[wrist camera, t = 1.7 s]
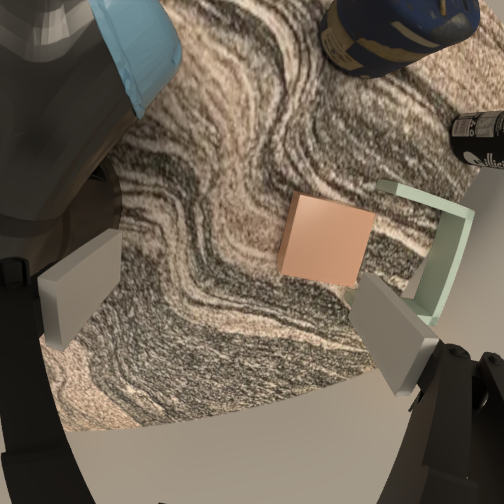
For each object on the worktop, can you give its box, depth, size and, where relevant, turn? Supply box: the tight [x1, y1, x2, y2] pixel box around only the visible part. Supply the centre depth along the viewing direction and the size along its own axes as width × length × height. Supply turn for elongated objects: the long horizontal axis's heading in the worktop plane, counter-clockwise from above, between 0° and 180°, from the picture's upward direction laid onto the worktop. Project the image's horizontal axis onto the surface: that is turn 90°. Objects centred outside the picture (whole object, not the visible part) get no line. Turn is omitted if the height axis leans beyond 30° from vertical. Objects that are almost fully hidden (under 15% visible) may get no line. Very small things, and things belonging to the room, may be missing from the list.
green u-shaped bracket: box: [344, 179, 475, 326], centre depth 32 cm, size 11×14×5 cm
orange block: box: [277, 191, 375, 287], centre depth 32 cm, size 8×8×4 cm
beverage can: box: [451, 111, 504, 170], centre depth 25 cm, size 7×7×12 cm
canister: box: [319, 0, 480, 78], centre depth 19 cm, size 10×10×18 cm
